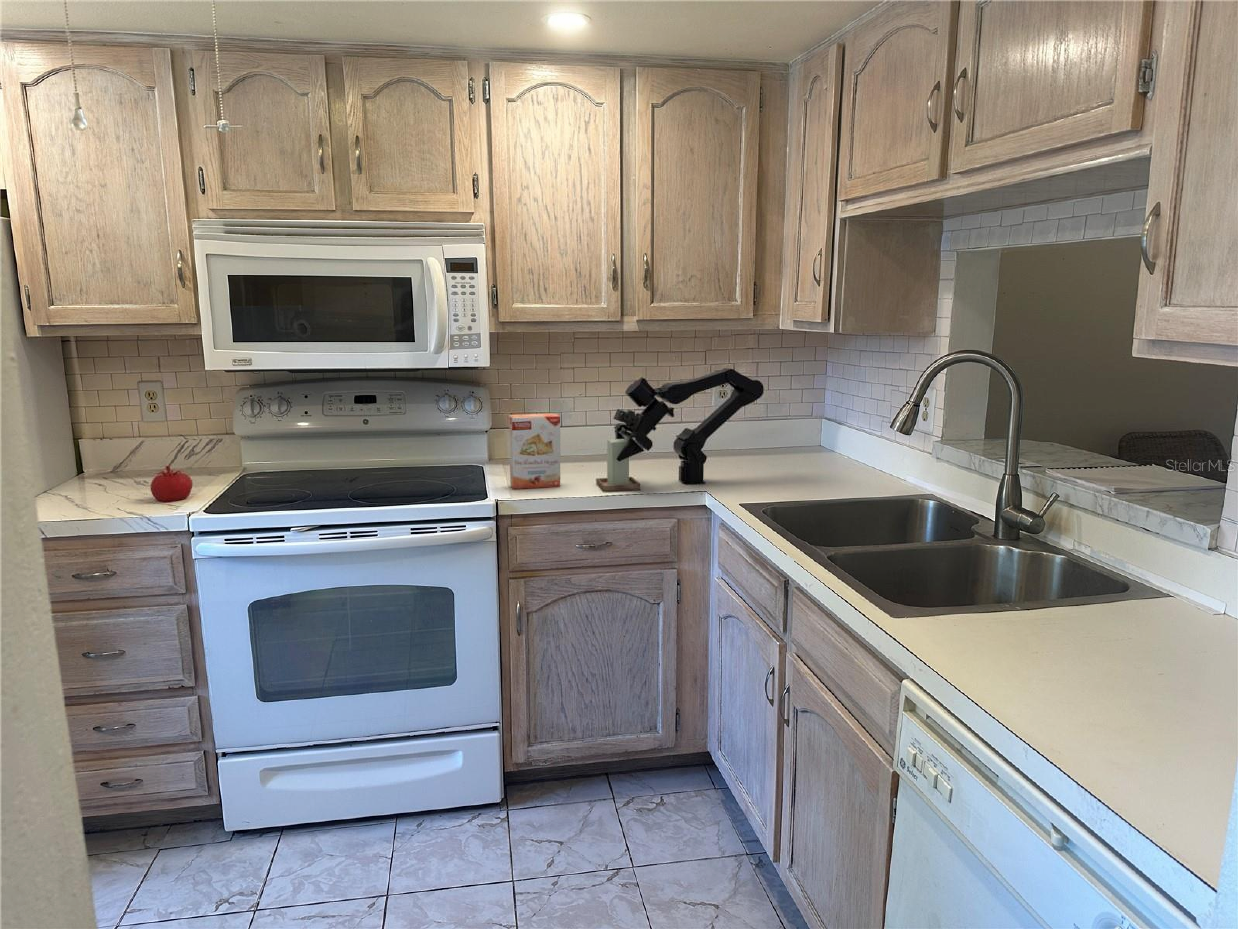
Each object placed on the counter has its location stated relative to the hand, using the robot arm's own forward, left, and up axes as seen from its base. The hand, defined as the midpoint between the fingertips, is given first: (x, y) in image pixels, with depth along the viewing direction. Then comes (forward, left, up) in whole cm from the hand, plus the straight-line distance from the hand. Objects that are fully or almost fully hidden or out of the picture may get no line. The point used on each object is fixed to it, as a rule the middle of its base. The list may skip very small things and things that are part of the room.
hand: (613, 458), depth 235 cm
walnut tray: (-1, 0, -9) cm, 9 cm away
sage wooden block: (-1, 0, -8) cm, 8 cm away
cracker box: (+22, -7, -9) cm, 24 cm away
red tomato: (+120, -12, -9) cm, 121 cm away
